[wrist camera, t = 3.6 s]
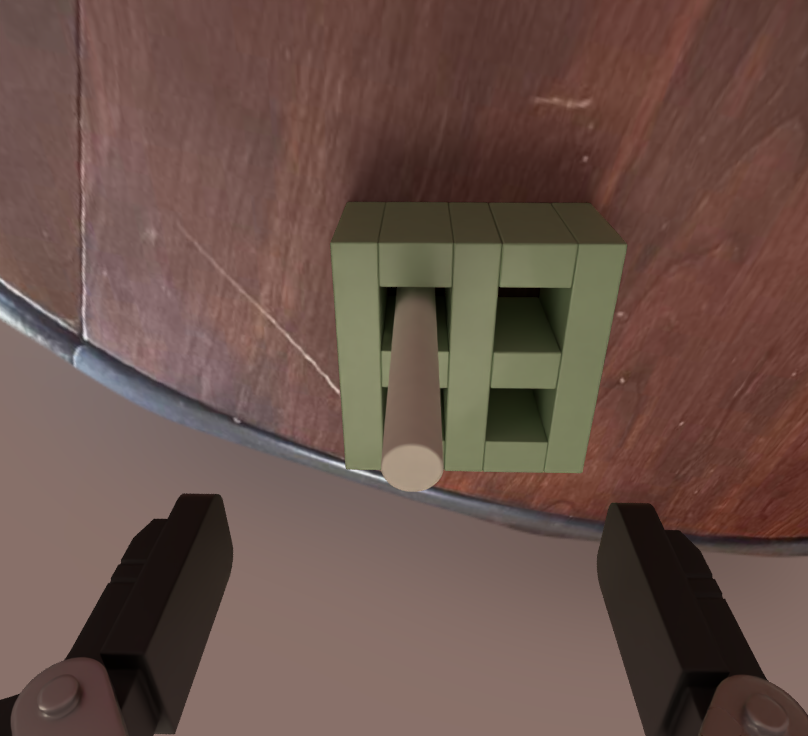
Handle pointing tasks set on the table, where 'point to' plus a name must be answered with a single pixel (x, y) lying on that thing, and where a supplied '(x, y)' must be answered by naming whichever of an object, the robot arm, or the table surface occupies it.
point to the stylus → (413, 395)
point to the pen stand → (480, 325)
